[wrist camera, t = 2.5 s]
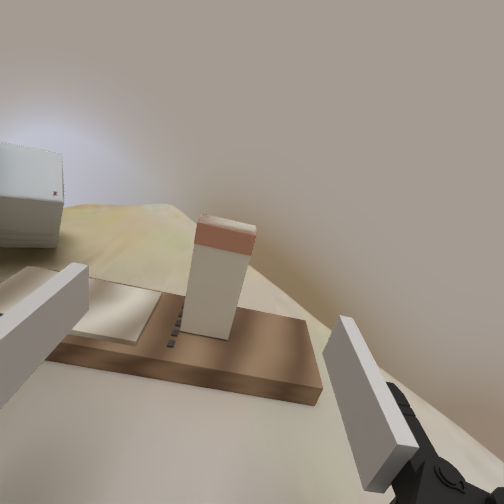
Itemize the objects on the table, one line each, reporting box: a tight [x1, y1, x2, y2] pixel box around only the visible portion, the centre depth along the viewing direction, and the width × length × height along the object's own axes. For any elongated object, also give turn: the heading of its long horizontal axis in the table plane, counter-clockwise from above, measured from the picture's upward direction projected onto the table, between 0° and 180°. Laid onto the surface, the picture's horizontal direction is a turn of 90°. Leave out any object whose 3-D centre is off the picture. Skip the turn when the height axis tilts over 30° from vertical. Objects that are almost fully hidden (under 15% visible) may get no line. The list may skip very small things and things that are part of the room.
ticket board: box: [0, 266, 323, 406], centre depth 30 cm, size 33×10×3 cm, turn 89°
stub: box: [180, 214, 256, 340], centre depth 27 cm, size 5×2×12 cm, turn 89°
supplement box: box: [0, 142, 64, 248], centre depth 35 cm, size 7×7×13 cm
